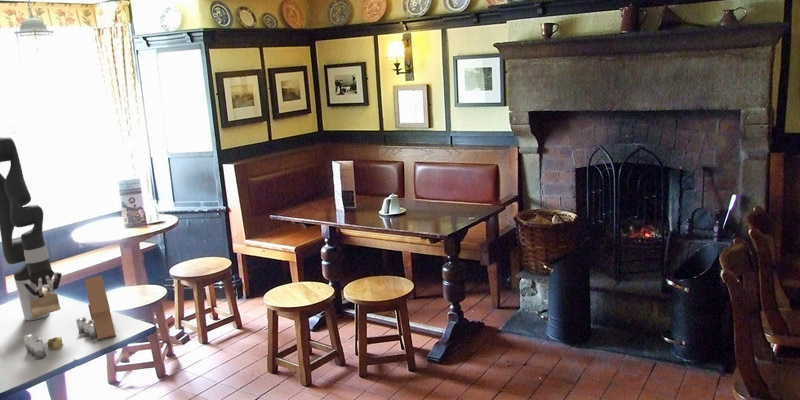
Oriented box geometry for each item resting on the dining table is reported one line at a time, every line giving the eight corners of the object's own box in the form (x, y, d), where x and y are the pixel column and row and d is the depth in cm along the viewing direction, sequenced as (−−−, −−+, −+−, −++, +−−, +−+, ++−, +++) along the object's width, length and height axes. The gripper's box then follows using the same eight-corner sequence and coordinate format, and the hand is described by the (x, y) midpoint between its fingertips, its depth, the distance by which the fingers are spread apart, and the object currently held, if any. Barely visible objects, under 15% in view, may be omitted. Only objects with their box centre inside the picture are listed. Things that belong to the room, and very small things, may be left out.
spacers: (25, 351, 234) (21, 335, 233) (86, 328, 249) (82, 314, 248) (38, 360, 225) (34, 344, 223) (101, 336, 240) (97, 321, 238)
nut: (46, 348, 235) (44, 340, 234) (60, 343, 238) (58, 335, 237) (51, 351, 232) (49, 343, 231) (65, 346, 235) (63, 338, 234)
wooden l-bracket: (21, 309, 243) (17, 294, 242) (46, 301, 249) (43, 286, 248) (34, 318, 234) (30, 302, 232) (60, 309, 240) (57, 294, 239)
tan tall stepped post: (100, 358, 251) (95, 335, 231) (88, 305, 260) (82, 278, 240) (119, 352, 254) (116, 329, 235) (107, 300, 264) (103, 273, 244)
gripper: (53, 252, 247) (63, 294, 251) (13, 263, 238) (24, 307, 242) (60, 254, 242) (70, 298, 246) (20, 266, 232) (31, 311, 236)
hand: (47, 302), depth 244 cm, fingers closed on wooden l-bracket, 2 cm apart
